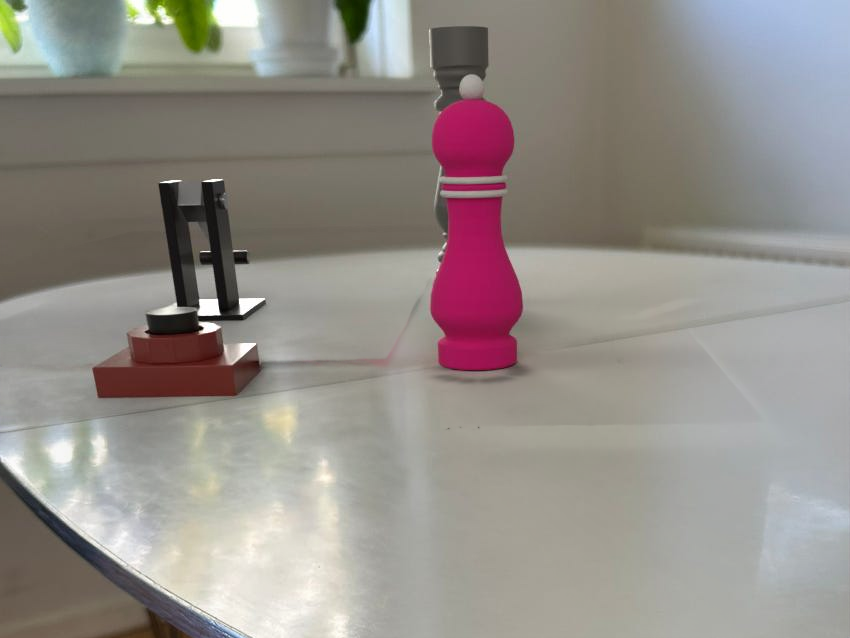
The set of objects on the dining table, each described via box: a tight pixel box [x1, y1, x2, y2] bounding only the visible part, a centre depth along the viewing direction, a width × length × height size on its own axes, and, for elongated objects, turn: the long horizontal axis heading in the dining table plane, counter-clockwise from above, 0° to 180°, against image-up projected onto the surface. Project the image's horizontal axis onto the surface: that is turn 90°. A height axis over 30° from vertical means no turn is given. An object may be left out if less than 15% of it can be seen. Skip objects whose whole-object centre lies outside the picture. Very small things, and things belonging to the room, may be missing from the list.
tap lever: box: [178, 180, 251, 266], centre depth 98 cm, size 12×5×2 cm
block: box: [91, 321, 261, 399], centre depth 74 cm, size 10×8×4 cm
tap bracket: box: [157, 178, 267, 322], centre depth 96 cm, size 10×9×13 cm
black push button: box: [145, 306, 200, 335], centre depth 73 cm, size 4×4×2 cm
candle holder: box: [428, 25, 490, 276], centre depth 100 cm, size 6×6×25 cm
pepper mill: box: [429, 74, 524, 371], centre depth 75 cm, size 7×7×20 cm
